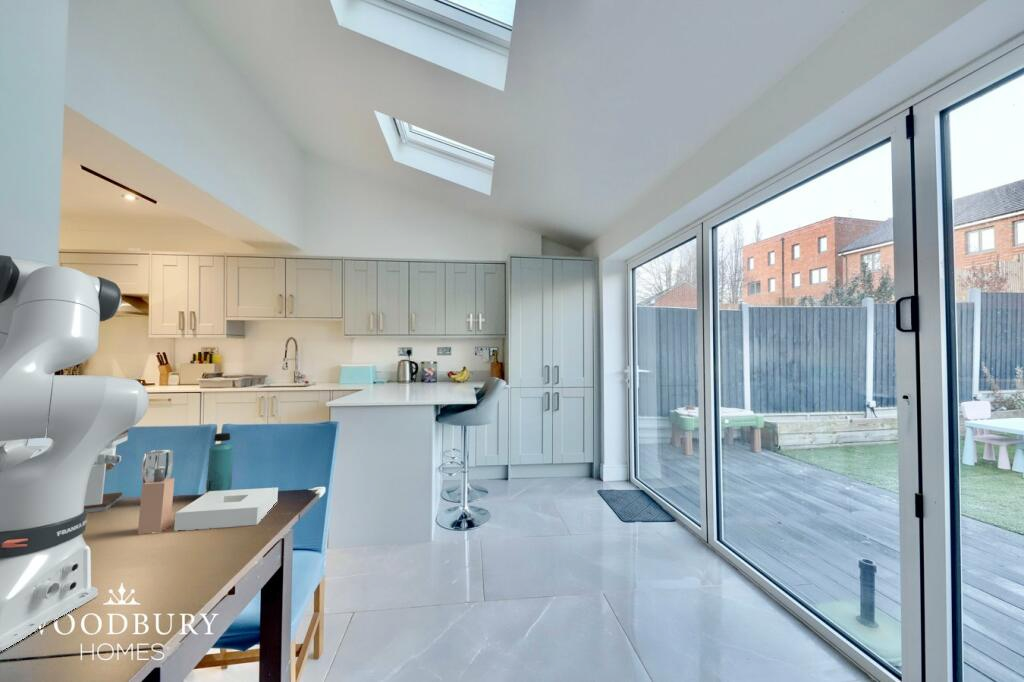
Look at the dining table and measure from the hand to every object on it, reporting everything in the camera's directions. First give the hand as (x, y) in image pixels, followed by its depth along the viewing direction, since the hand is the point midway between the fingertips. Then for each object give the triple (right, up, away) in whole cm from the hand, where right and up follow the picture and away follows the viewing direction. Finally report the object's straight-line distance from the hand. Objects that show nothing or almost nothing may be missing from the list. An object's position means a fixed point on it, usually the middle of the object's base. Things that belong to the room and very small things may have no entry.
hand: (103, 464), depth 96 cm
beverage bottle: (+9, -19, +26) cm, 33 cm away
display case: (-21, -18, +15) cm, 31 cm away
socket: (+23, -18, +11) cm, 32 cm away
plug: (+12, -17, +1) cm, 21 cm away
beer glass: (-6, -18, +21) cm, 28 cm away
